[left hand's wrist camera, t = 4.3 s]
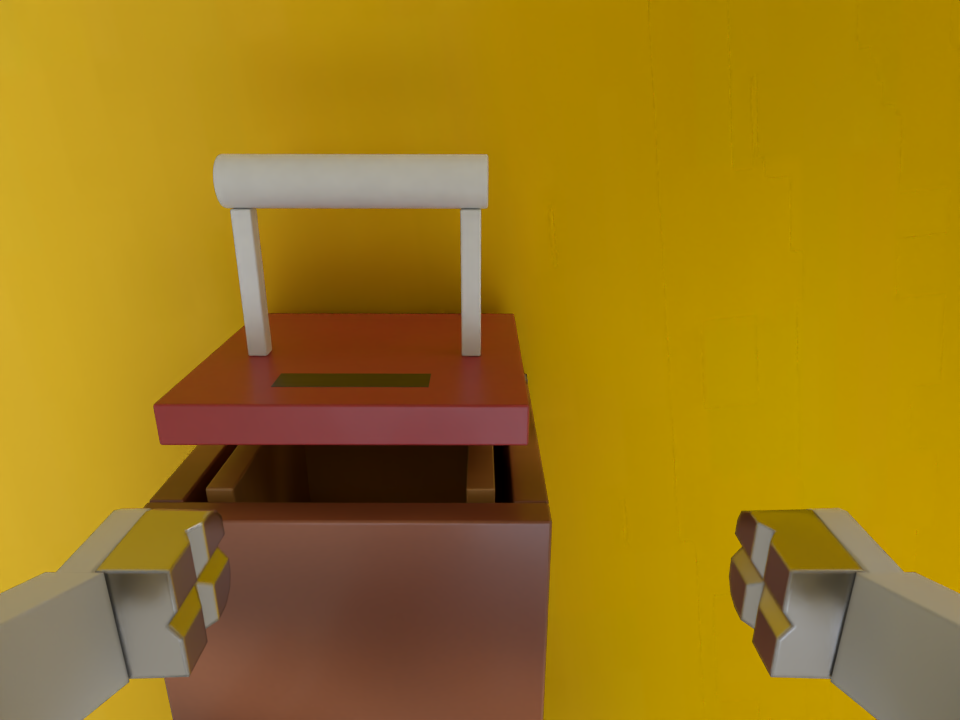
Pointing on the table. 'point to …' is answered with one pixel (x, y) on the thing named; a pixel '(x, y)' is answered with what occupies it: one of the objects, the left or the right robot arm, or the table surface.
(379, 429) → the drawer
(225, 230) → the table surface
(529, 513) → the cabinet
